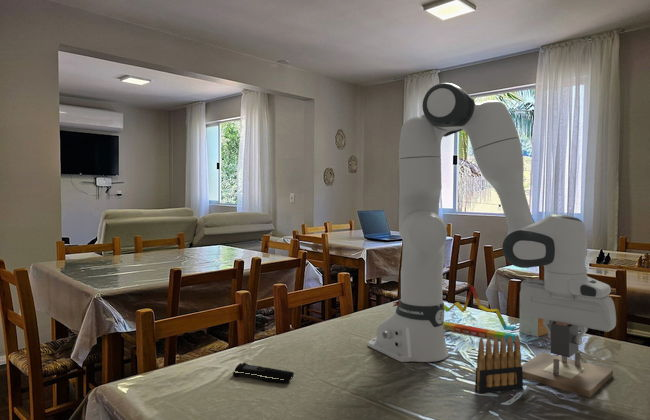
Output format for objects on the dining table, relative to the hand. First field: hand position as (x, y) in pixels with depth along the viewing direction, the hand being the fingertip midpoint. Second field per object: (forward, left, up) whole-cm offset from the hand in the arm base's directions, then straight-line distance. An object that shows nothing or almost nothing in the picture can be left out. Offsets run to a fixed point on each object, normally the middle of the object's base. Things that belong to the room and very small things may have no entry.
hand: (564, 341), depth 104 cm
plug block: (0, 0, -3) cm, 3 cm away
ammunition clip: (-7, -18, -9) cm, 21 cm away
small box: (-18, +28, -9) cm, 34 cm away
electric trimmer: (-49, -53, -9) cm, 72 cm away
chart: (-34, +13, -9) cm, 37 cm away
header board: (0, 0, -8) cm, 8 cm away
